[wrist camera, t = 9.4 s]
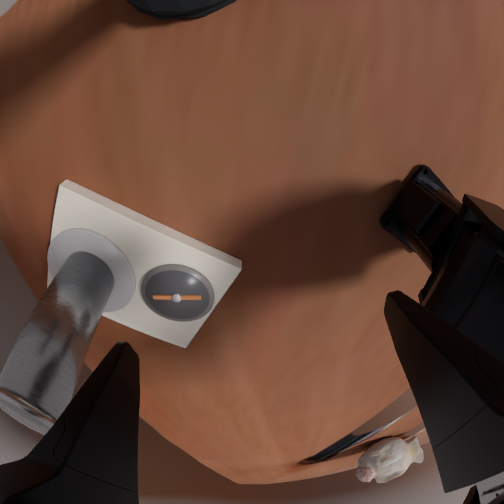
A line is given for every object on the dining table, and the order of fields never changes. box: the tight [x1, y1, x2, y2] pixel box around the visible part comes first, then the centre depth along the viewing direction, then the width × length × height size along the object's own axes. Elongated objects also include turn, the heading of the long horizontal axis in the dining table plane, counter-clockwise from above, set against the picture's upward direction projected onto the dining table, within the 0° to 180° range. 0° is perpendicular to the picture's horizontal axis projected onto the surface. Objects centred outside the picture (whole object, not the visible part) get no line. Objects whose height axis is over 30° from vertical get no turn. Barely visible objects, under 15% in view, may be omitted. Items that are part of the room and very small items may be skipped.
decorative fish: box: [356, 435, 423, 483], centre depth 59 cm, size 16×19×15 cm
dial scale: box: [47, 179, 242, 348], centre depth 23 cm, size 16×12×2 cm
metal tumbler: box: [0, 251, 115, 435], centre depth 16 cm, size 5×5×14 cm
